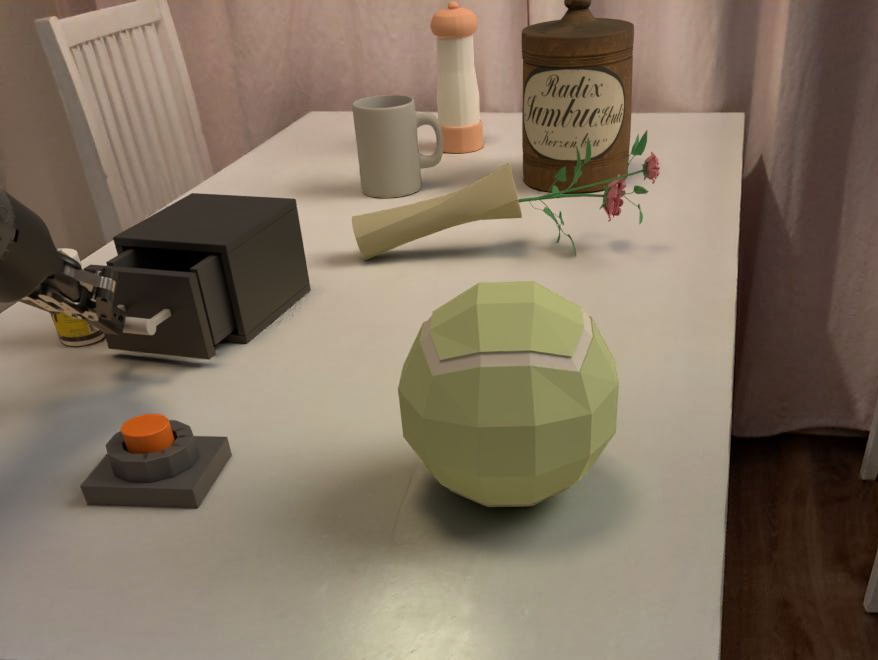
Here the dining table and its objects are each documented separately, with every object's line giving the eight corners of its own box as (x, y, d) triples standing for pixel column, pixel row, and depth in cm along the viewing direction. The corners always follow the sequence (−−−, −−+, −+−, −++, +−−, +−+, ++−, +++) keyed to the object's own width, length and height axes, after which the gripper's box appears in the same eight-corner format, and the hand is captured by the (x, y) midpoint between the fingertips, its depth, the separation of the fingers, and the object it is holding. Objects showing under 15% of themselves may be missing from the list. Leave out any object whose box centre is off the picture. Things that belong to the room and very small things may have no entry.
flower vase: (388, 309, 117) (661, 229, 112) (374, 317, 106) (676, 229, 101) (358, 210, 112) (641, 122, 107) (340, 208, 101) (655, 110, 96)
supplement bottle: (59, 333, 97) (30, 251, 91) (106, 325, 98) (79, 243, 92) (61, 350, 93) (31, 266, 88) (109, 342, 94) (82, 258, 89)
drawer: (185, 379, 85) (162, 294, 80) (82, 367, 88) (54, 285, 83) (275, 305, 97) (260, 228, 92) (182, 297, 100) (162, 222, 95)
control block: (86, 505, 71) (71, 465, 69) (129, 452, 77) (116, 414, 75) (198, 508, 70) (186, 468, 68) (232, 454, 76) (222, 416, 74)
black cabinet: (247, 343, 93) (225, 245, 86) (140, 332, 96) (112, 237, 90) (311, 289, 103) (295, 198, 97) (212, 281, 106) (191, 192, 100)
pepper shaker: (428, 148, 147) (417, 3, 134) (462, 139, 150) (455, -4, 138) (458, 155, 142) (450, 6, 130) (492, 146, 146) (488, 0, 133)
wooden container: (515, 193, 126) (512, 0, 112) (530, 164, 137) (529, -16, 123) (624, 194, 124) (635, -4, 110) (630, 164, 135) (641, -20, 120)
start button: (119, 456, 70) (112, 435, 69) (138, 433, 73) (131, 412, 72) (164, 457, 70) (158, 436, 69) (181, 434, 73) (175, 413, 71)
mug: (359, 199, 128) (348, 110, 120) (364, 182, 134) (354, 96, 127) (445, 195, 127) (439, 105, 120) (447, 178, 134) (441, 91, 126)
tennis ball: (603, 437, 75) (613, 248, 65) (617, 545, 64) (631, 336, 54) (421, 441, 76) (403, 255, 66) (403, 548, 65) (378, 343, 55)
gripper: (-116, 271, 68) (49, 357, 85) (31, 284, 65) (172, 371, 82) (-95, 173, 69) (65, 278, 85) (52, 181, 65) (189, 289, 82)
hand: (117, 324), depth 83 cm, fingers closed
